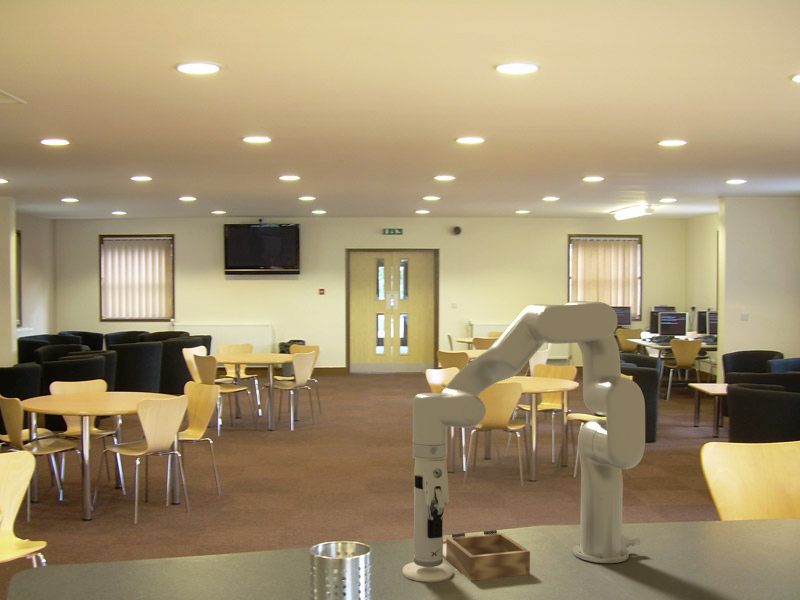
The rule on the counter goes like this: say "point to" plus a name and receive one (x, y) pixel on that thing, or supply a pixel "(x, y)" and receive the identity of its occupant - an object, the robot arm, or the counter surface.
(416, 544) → the travel mug
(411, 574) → the saucer
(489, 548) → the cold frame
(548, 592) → the counter surface
